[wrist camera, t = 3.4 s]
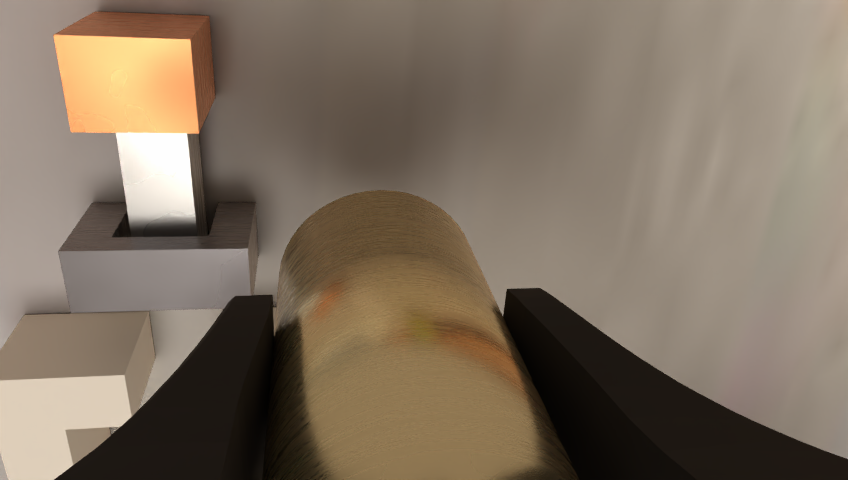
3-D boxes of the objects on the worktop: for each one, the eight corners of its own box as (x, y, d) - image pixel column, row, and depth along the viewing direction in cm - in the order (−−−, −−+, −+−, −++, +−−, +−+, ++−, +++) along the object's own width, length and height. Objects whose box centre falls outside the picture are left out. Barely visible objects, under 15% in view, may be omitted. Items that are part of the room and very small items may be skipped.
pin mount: (255, 202, 19) (248, 248, 16) (258, 255, 20) (251, 307, 17) (91, 202, 18) (58, 251, 16) (101, 258, 19) (70, 312, 16)
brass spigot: (481, 189, 13) (632, 439, 7) (466, 356, 15) (576, 673, 9) (274, 191, 13) (240, 467, 6) (283, 364, 14) (263, 713, 8)
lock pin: (209, 15, 16) (190, 39, 14) (228, 266, 20) (216, 325, 17) (95, 11, 16) (53, 34, 13) (134, 268, 19) (106, 329, 16)
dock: (339, 305, 21) (344, 365, 18) (338, 512, 25) (341, 585, 22) (24, 314, 19) (-21, 381, 17) (77, 532, 23) (48, 614, 21)
